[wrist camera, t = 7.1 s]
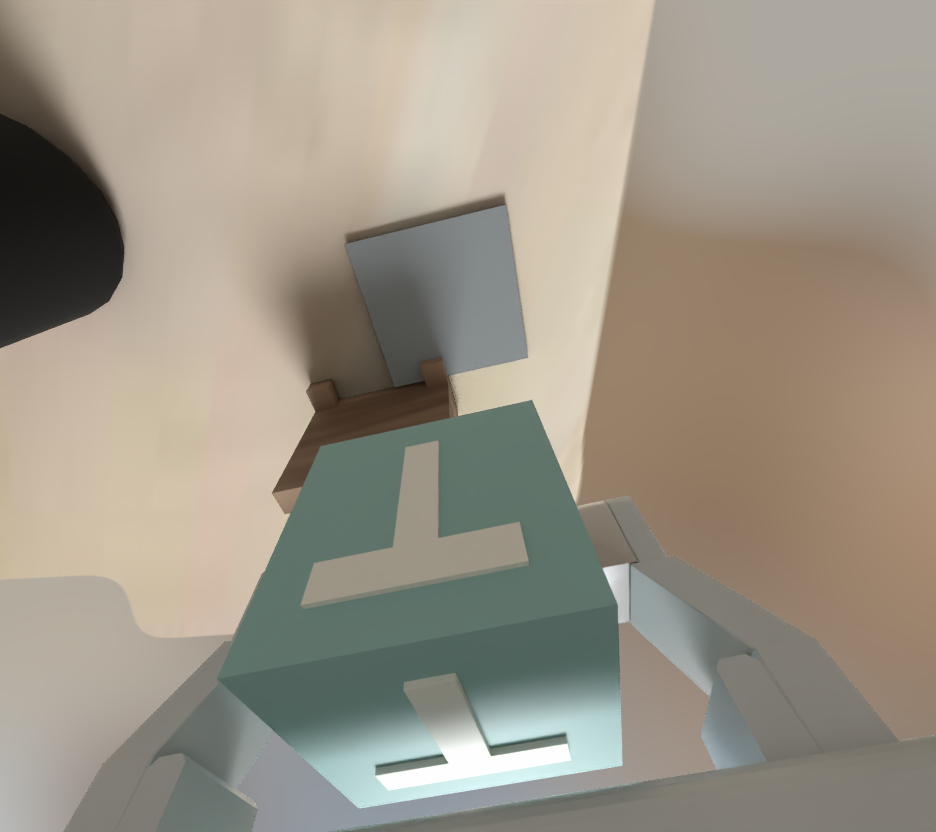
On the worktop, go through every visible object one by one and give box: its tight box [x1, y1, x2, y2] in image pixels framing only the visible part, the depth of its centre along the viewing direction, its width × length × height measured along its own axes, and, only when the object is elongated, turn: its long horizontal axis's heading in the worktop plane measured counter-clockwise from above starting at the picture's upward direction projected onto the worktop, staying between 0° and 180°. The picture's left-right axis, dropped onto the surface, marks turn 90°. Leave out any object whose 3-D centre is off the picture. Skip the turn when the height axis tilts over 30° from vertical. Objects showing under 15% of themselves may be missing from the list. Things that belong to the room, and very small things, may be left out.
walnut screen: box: [272, 357, 458, 514], centre depth 26 cm, size 5×10×10 cm, turn 102°
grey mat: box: [345, 204, 528, 387], centre depth 27 cm, size 10×10×1 cm
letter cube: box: [217, 400, 622, 808], centre depth 8 cm, size 5×5×5 cm
